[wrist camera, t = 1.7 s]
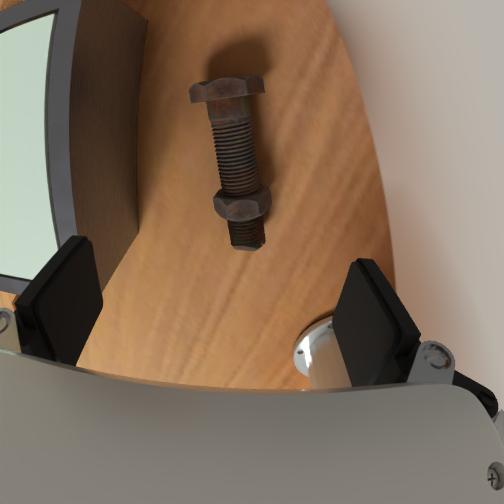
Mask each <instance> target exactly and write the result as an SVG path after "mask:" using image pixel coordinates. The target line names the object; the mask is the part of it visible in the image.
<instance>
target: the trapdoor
mask: <svg viewBox="0 0 504 504" xmlns="http://www.w3.org/2000/svg"><path fill="white" fill-rule="evenodd" d="M57 17H58V15H57V14H52V15H48V16H45V17H42V18H39V19H37V20H34V21H31V22H28V23H26V24H23V25H20V26H18V27H15V28H13V29H10V30H8V31H6V32H3V33H1V34H0V274H5V275H10V276H15V277H20V278H26V279H31V280H33V279H34V277H35V276H36V275H37V274H38V273H39V271H40V270H41V269H42V268H43V267H44V265H45V264H46V263H47V262H48V261H49V260H50V259H51V257H52V256H53V255H54V254H55V253H56V252H57V251H58V250H59V249H60V247H61V245H60V240H59V235H58V229H57V223H56V216H55V210H54V202H53V194H52V185H51V175H50V162H49V143H48V97H49V79H50V67H51V57H52V49H53V41H54V34H55V28H56V22H57Z"/></svg>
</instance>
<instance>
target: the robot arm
mask: <svg viewBox="0 0 504 504" xmlns="http://www.w3.org/2000/svg"><path fill="white" fill-rule="evenodd" d="M14 304H15V306H16V310H15V311H14V312H13V311H12V310H11V309H8V308H0V504H504V411H503V410H500V411H499V412H498V402H497V399H496V397H495V395H494V394H493V392H491V391H490V390H489V389H488V388H486V387H484V386H482V385H481V384H479V383H477V382H475V381H473V380H472V379H470V378H468V377H466V376H465V375H463V374H461V373H459V372H457V371H456V370H455V359H454V356H453V355H452V353H451V351H450V350H449V349H448V348H446V346H444V345H443V344H441V343H439V342H436V341H430V340H429V341H424V342H423V343H421V342H420V341H419V338H420V336H421V333H420V332H419V330H418V328H417V326H416V325H415V323H414V322H413V320H412V318H411V317H410V315H409V313H408V312H407V310H406V309H405V307H404V305H403V304H402V302H401V301H400V299H399V297H398V296H397V294H396V293H395V291H394V290H393V288H392V287H391V285H390V284H389V282H388V280H387V279H386V277H385V276H384V275H383V273H382V272H381V270H380V269H379V267H378V266H377V264H376V263H375V261H374V260H373V259H364V258H358V259H357V260H356V261H355V262H352V263H351V265H350V268H349V271H348V274H347V278H346V281H345V283H344V286H343V289H342V292H341V295H340V298H339V301H338V304H337V307H336V309H335V312H334V315H333V316H330V317H327V318H325V319H322V320H320V321H318V322H317V323H315V324H313V325H312V326H310V327H309V328H308V329H307V330H305V331H304V332H303V333H302V335H301V336H300V337H299V338H298V340H297V341H296V343H295V346H294V348H293V359H294V364H295V366H296V368H297V369H298V370H299V371H300V372H301V373H302V374H304V375H306V376H308V377H309V379H310V384H311V389H293V390H274V389H238V388H220V387H206V386H194V385H184V384H175V383H167V382H159V381H152V380H145V379H138V378H132V377H126V376H120V375H114V374H109V373H104V372H99V371H94V370H89V369H85V368H80V367H76V364H77V361H78V359H79V357H80V355H81V352H82V350H83V348H84V346H85V343H86V341H87V339H88V337H89V335H90V333H91V331H92V329H93V326H94V324H95V322H96V320H97V318H98V316H99V314H100V312H101V310H102V308H103V297H102V293H101V288H100V283H99V278H98V273H97V268H96V262H95V256H94V250H93V244H92V242H91V241H90V240H88V238H87V237H86V236H78V235H72V236H71V237H70V238H69V239H68V240H67V241H66V242H65V243H64V244H63V245H62V246H61V247H60V249H59V250H58V251H57V252H56V253H55V254H54V255H53V256H52V257H51V259H50V260H49V261H48V262H47V263H46V264H45V265H44V267H43V268H42V269H41V270H40V271H39V273H38V274H37V275H36V276H35V277H34V279H33V280H32V281H31V282H30V283H29V285H28V286H27V287H26V288H25V290H24V291H23V292H22V294H21V295H20V296H19V297H18V299H17V300H16V301H15V303H14Z"/></svg>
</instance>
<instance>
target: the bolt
mask: <svg viewBox="0 0 504 504" xmlns="http://www.w3.org/2000/svg"><path fill="white" fill-rule="evenodd" d="M189 93H190V99H191V103H196V102H204V101H206V103H207V109H208V115H209V120H210V121H211V124H212V126H211V127H212V128H214V129H213V130H212V131H213V132H214V133H213V136H215V137H214V140H216V141H215V142H214V144H216V145H215V146H214V147H215V148H216V150H215V152H217V153H216V156H218V157H217V158H216V159H217V160H218V161H217V163H218V167H219V169H218V170H219V171H220V172H219V175H221V176H220V179H221V186H222V189H220V190H219V191H218V192H217V193H216V194H215V196H214V198H213V202H214V207H215V211H216V212H217V213H218V214H219V215H220V216H221V217H222V218H224V219H226V220H227V222H228V228H229V234H230V239H231V245H232V246H233V247H234V249H236V250H245V251H256V250H258V249H259V248H260V247H262V246H263V244H264V243H265V241H266V239H265V233H264V224H263V216H262V215H263V214H264V213H265V212H266V211H267V210H268V209H269V207H270V205H271V203H272V201H271V191H270V190H269V189H268V188H267V187H266V186H264V185H263V184H260V183H259V180H258V173H257V171H258V170H257V169H256V168H257V165H256V164H257V162H256V157H255V156H256V154H255V150H254V147H255V146H254V145H253V144H254V142H253V140H254V138H252V137H253V134H252V132H253V130H251V129H252V126H250V125H251V124H252V122H250V121H251V114H252V111H251V103H250V95H252V94H259V93H265V90H264V82H263V79H262V78H261V77H259V76H257V75H245V76H236V77H227V78H220V79H214V80H209V81H204V82H200V83H195V84H193V85H192V86H191V88H190V89H189Z"/></svg>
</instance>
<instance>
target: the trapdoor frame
mask: <svg viewBox="0 0 504 504" xmlns="http://www.w3.org/2000/svg"><path fill="white" fill-rule="evenodd" d="M52 14H57V15H58V17H57V22H56V28H55V34H54V41H53V49H52V57H51V67H50V79H49V97H48V143H49V162H50V175H51V185H52V194H53V202H54V210H55V216H56V223H57V229H58V235H59V240H60V245H61V246H62V245H63V244H64V243H65V242H66V241H67V240H68V239H69V238H70V237H71V236H72V235H78V236H86V237H87V238H88V240H90V241H91V242H92V244H93V250H94V256H95V262H96V268H97V273H98V278H99V283H100V288H101V293H102V292H103V290H104V289H105V287H106V285H107V283H108V282H109V280H110V278H111V277H112V275H113V273H114V272H115V270H116V268H117V267H118V265H119V263H120V262H121V260H122V258H123V257H124V255H125V254H126V252H127V250H128V249H129V247H130V246H131V244H132V242H133V241H134V239H135V238H136V236H137V235H138V233H139V230H138V210H137V125H138V106H139V91H140V79H141V69H142V60H143V51H144V43H145V36H146V29H147V23H148V20H146V19H145V18H144V17H142V16H141V15H139V14H138V13H137V12H135V11H134V10H132V9H131V8H130V7H128V6H127V5H125V4H124V3H122V2H121V1H119V0H26V1H23V2H21V3H19V4H16V5H14V6H12V7H10V8H8V9H5V10H3V11H1V12H0V34H1V33H3V32H6V31H8V30H10V29H13V28H15V27H18V26H20V25H23V24H26V23H28V22H31V21H34V20H37V19H39V18H42V17H45V16H48V15H52ZM31 281H32V280H31V279H26V278H20V277H15V276H10V275H5V274H0V291H4V292H8V293H13V294H17V295H21V294H22V292H23V291H24V290H25V288H26V287H27V286H28V285H29V283H30V282H31Z"/></svg>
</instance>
